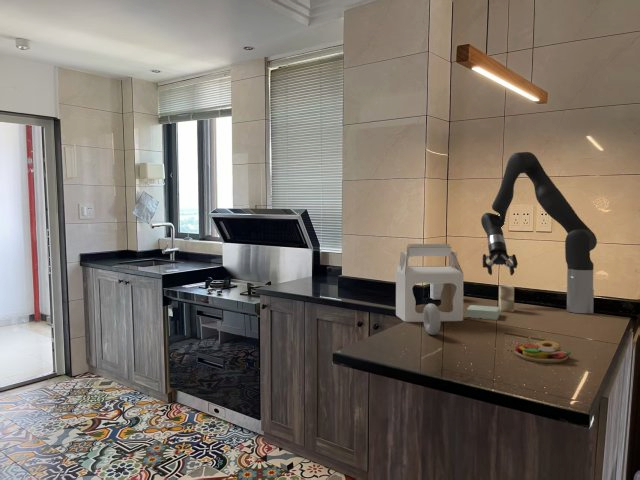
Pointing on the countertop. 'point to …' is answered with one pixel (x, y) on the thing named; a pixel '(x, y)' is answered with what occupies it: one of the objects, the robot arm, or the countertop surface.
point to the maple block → (506, 298)
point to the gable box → (429, 274)
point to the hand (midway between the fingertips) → (501, 274)
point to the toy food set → (542, 352)
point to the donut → (431, 319)
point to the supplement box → (436, 291)
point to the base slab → (483, 312)
